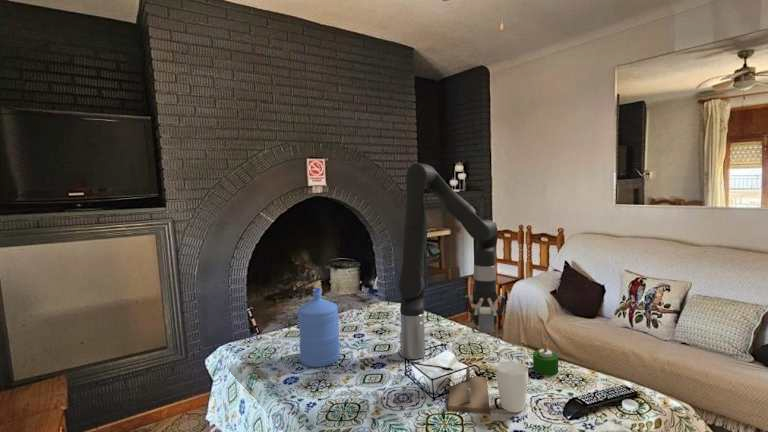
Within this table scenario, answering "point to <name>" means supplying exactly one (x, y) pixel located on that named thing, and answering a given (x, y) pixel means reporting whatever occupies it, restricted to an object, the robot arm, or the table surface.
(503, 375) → the cup
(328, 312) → the water jug
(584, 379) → the table surface
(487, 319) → the block
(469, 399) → the tray
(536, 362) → the candle
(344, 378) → the table surface
